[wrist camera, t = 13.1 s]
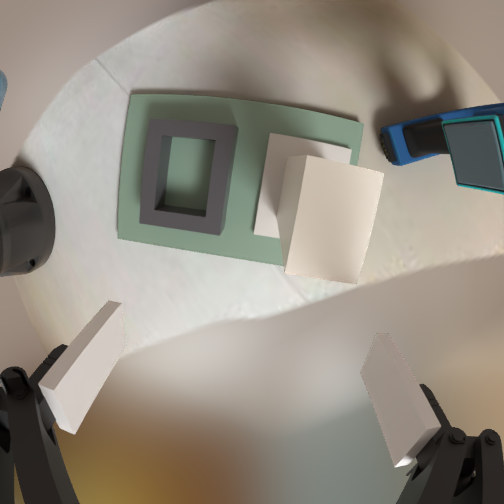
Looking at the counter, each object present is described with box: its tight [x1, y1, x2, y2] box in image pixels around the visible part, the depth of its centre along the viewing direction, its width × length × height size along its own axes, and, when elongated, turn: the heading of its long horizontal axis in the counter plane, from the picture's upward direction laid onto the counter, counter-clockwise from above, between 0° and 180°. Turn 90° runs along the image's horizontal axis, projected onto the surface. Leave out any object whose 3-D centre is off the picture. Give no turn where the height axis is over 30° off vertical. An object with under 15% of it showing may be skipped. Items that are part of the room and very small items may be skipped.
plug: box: [277, 155, 384, 284], centre depth 21 cm, size 4×6×14 cm, turn 171°
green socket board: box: [118, 94, 364, 266], centre depth 27 cm, size 24×16×4 cm, turn 81°
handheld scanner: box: [380, 103, 504, 195], centre depth 17 cm, size 5×16×20 cm, turn 111°
